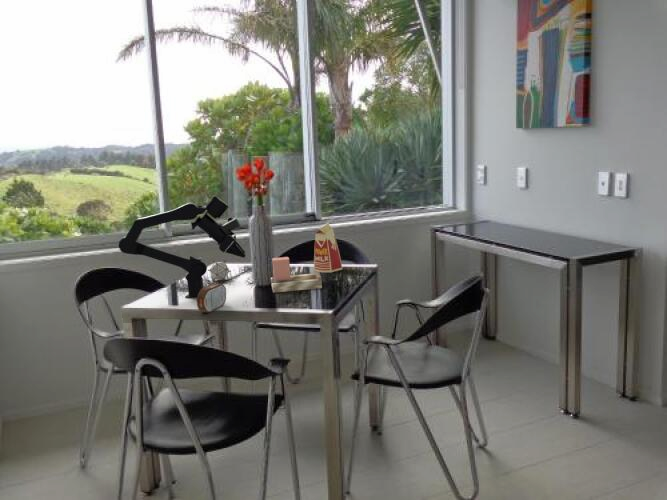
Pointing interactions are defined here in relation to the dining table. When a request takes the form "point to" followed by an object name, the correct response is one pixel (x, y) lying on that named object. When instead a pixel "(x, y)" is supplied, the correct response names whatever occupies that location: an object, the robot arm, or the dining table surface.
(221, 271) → the geodesic ball
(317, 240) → the milk carton
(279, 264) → the coral block
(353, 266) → the dining table surface
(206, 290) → the tin
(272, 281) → the wooden tray
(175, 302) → the dining table surface
